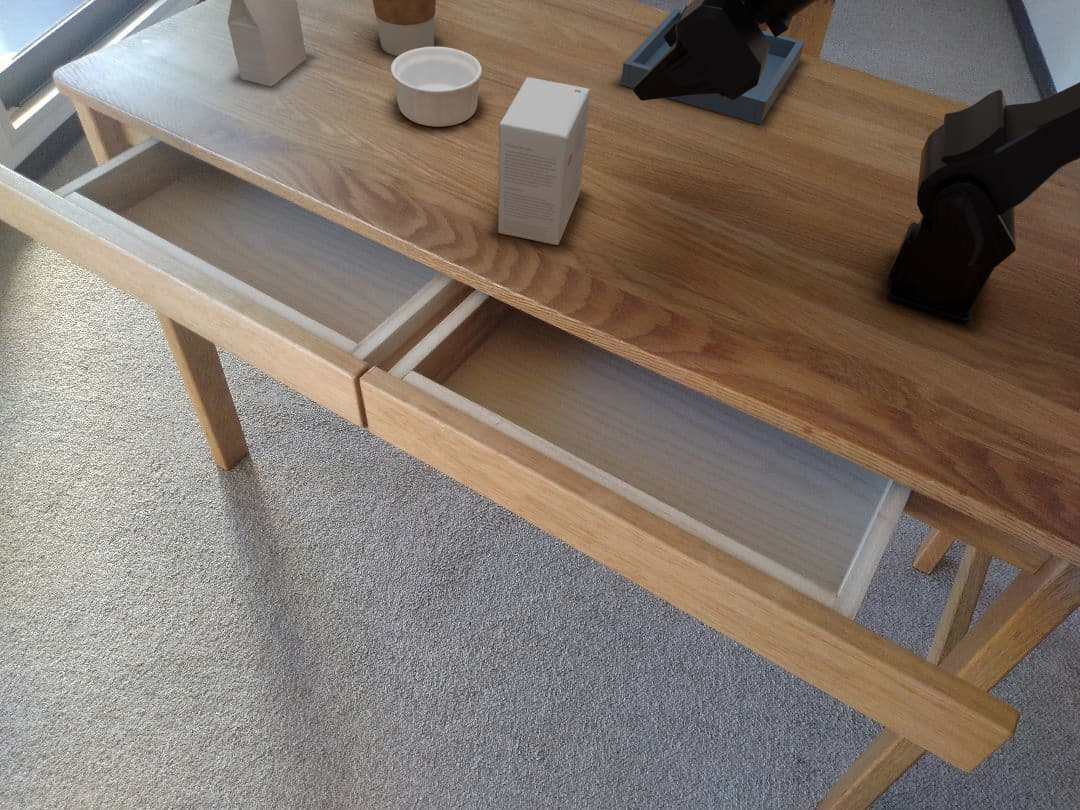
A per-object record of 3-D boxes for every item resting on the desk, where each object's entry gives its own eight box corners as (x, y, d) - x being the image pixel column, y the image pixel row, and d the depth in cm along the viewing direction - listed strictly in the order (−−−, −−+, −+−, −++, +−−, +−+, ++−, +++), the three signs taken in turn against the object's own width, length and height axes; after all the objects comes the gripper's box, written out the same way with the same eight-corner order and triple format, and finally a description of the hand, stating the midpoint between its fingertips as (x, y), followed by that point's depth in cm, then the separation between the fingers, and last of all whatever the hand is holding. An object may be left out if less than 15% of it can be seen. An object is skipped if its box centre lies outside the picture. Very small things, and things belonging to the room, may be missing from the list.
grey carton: (306, 58, 91) (290, -39, 83) (271, 86, 86) (250, -14, 79) (277, 51, 91) (258, -46, 84) (240, 78, 87) (217, -22, 80)
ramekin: (489, 91, 88) (489, 51, 85) (472, 136, 82) (471, 94, 79) (406, 81, 88) (403, 41, 85) (384, 125, 82) (379, 83, 79)
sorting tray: (798, 62, 95) (805, 41, 94) (760, 124, 86) (766, 102, 84) (670, 29, 100) (674, 8, 98) (620, 85, 90) (623, 62, 88)
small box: (522, 183, 77) (526, 74, 69) (581, 195, 76) (591, 86, 68) (495, 234, 72) (496, 122, 64) (558, 247, 71) (567, 136, 63)
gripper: (792, -220, 57) (621, -66, 67) (741, -143, 45) (543, 30, 55) (875, -76, 61) (702, 48, 71) (849, 29, 49) (645, 159, 60)
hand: (652, 66), depth 64 cm, fingers open, 9 cm apart
